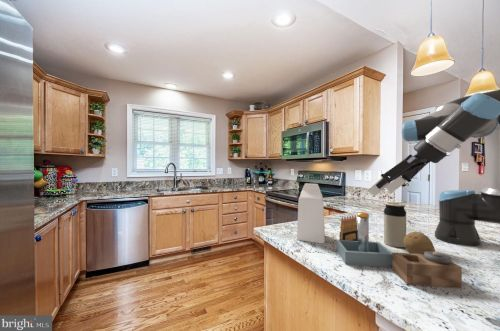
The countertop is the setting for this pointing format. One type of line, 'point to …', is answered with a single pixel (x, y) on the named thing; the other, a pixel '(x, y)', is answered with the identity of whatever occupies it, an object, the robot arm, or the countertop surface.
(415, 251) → the natural sponge
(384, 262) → the tray
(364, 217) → the pin
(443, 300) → the countertop surface
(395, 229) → the travel mug
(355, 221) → the ammunition clip
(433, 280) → the block
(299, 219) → the milk
